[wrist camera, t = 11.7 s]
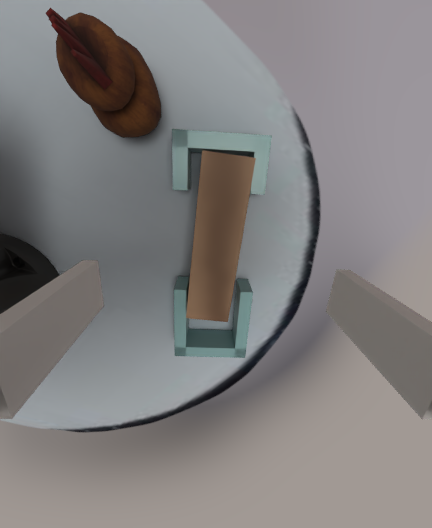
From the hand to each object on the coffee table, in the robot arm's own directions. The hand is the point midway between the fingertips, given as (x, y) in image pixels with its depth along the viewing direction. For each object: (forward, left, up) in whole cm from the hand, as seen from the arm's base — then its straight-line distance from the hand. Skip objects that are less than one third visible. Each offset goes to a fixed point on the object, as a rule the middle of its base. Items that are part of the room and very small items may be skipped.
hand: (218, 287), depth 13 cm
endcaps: (0, -4, -17) cm, 18 cm away
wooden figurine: (-9, +12, -18) cm, 23 cm away
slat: (0, -1, -18) cm, 18 cm away
